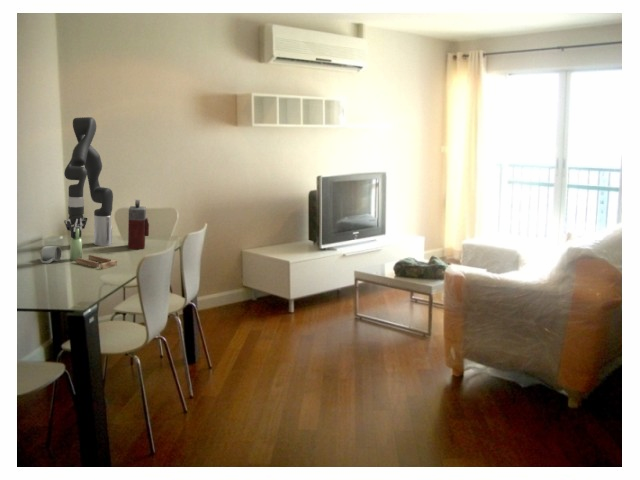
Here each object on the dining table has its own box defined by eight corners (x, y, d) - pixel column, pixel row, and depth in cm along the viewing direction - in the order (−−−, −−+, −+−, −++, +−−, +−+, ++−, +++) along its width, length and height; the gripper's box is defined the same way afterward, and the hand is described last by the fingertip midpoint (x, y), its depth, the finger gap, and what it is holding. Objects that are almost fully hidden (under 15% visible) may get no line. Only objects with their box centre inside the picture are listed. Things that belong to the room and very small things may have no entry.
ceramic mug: (46, 257, 314) (45, 243, 312) (61, 259, 314) (61, 245, 312) (36, 263, 304) (36, 248, 302) (52, 264, 303) (52, 250, 302)
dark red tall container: (148, 249, 348) (149, 201, 342) (128, 248, 346) (128, 200, 340) (149, 245, 357) (150, 198, 351) (129, 244, 354) (130, 197, 348)
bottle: (76, 257, 319) (76, 224, 316) (84, 259, 317) (84, 225, 313) (68, 259, 314) (67, 225, 311) (76, 261, 312) (75, 227, 308)
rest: (90, 259, 318) (90, 254, 318) (117, 265, 311) (117, 260, 311) (75, 262, 309) (75, 258, 309) (102, 269, 302) (102, 264, 302)
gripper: (81, 202, 317) (81, 234, 321) (59, 205, 305) (60, 238, 309) (91, 204, 314) (91, 236, 318) (70, 207, 302) (70, 241, 306)
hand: (76, 237), depth 313 cm, fingers closed on bottle, 3 cm apart
